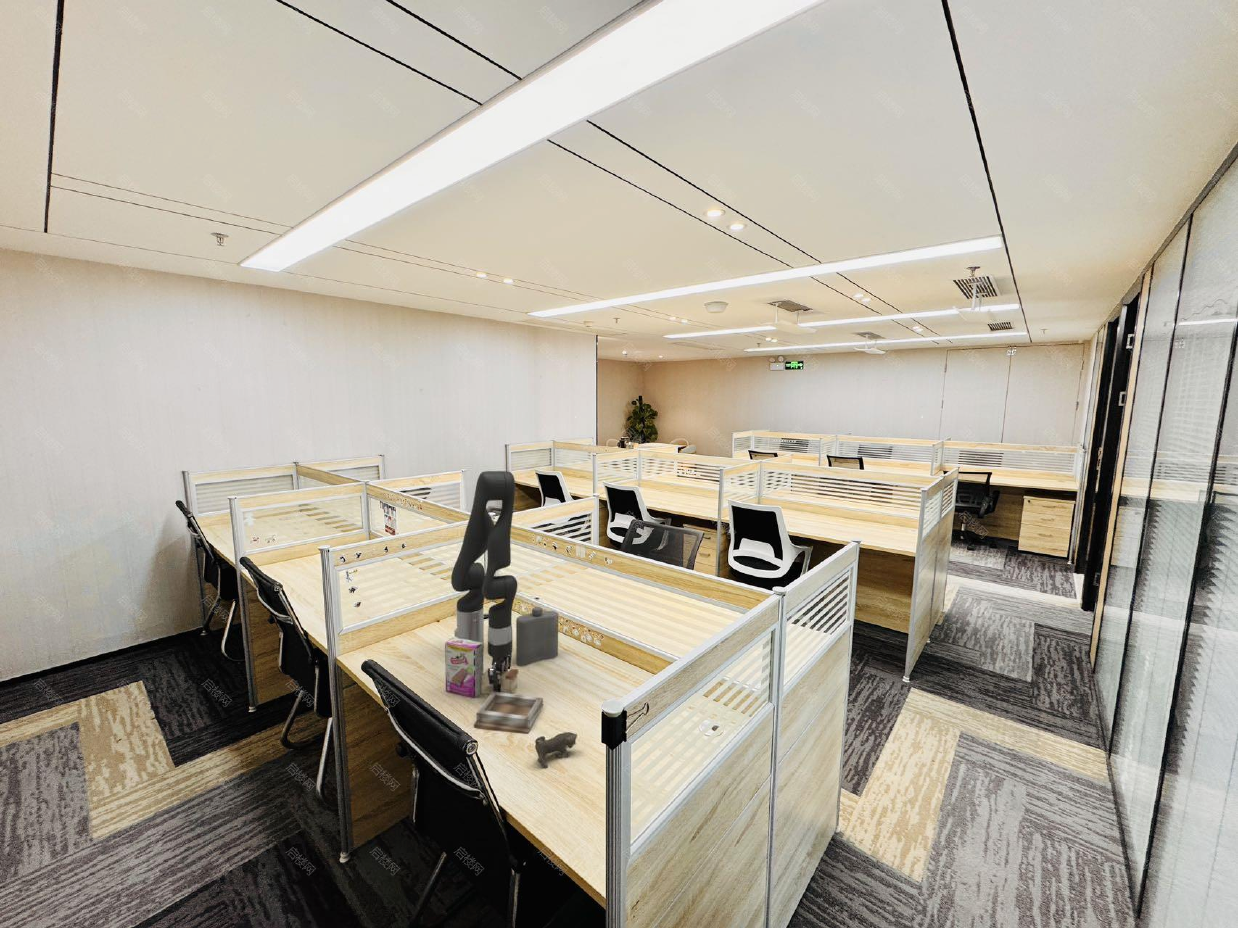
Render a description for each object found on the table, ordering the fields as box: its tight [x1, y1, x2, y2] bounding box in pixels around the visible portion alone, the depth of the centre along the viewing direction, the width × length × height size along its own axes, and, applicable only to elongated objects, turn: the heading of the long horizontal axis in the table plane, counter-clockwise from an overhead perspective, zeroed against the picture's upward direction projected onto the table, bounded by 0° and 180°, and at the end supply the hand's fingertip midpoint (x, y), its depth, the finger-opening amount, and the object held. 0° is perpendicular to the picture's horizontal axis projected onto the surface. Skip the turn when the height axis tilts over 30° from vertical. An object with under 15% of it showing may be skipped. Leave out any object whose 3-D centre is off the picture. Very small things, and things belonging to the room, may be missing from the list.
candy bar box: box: [444, 636, 484, 699], centre depth 159 cm, size 11×5×16 cm, turn 71°
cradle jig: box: [473, 692, 544, 735], centre depth 148 cm, size 16×14×4 cm
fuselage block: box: [480, 668, 519, 695], centre depth 160 cm, size 10×4×7 cm, turn 80°
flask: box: [515, 606, 559, 667], centre depth 178 cm, size 15×6×20 cm, turn 117°
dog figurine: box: [534, 731, 578, 769], centre depth 131 cm, size 12×6×7 cm, turn 119°
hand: (500, 689), depth 160 cm, fingers closed on fuselage block, 4 cm apart
